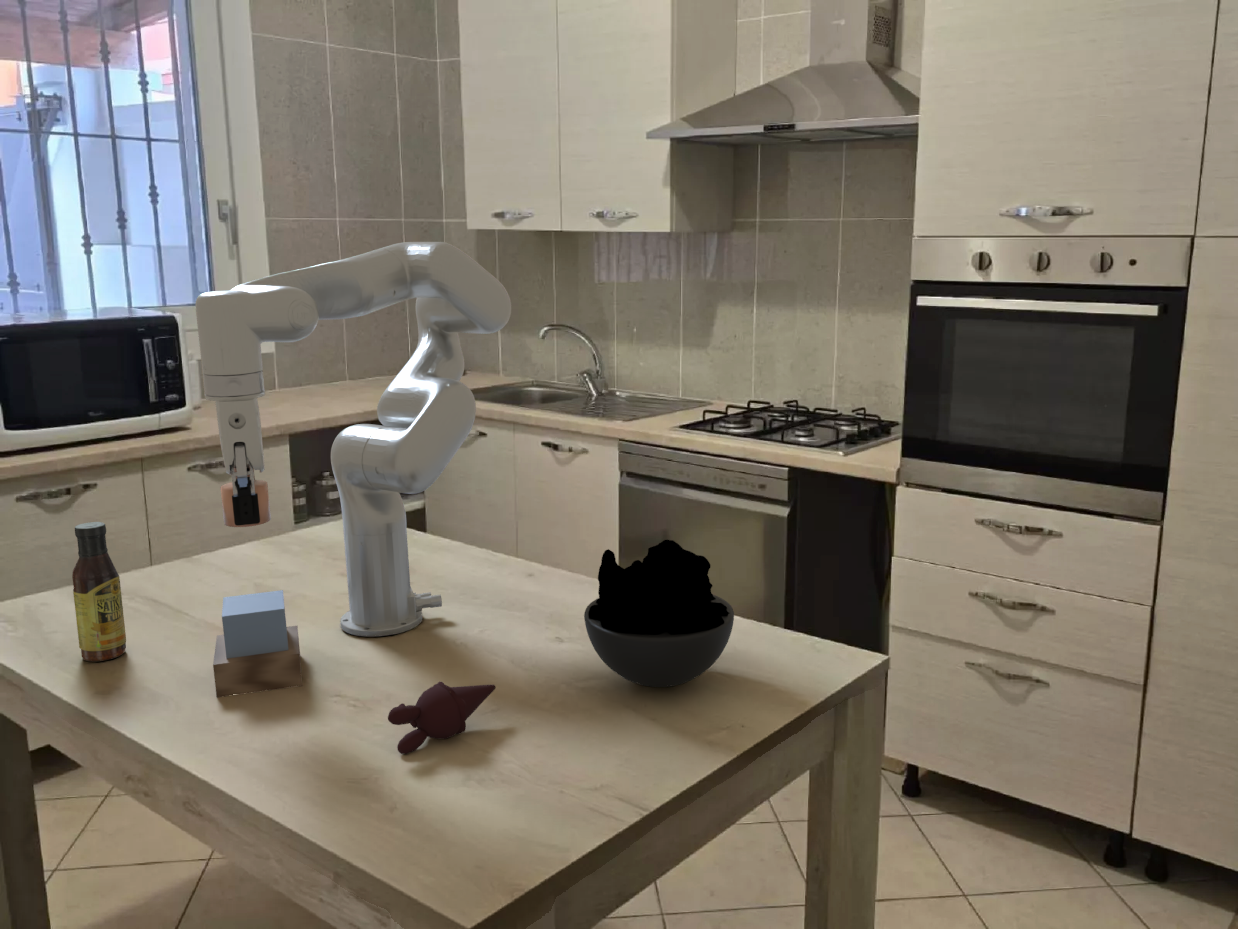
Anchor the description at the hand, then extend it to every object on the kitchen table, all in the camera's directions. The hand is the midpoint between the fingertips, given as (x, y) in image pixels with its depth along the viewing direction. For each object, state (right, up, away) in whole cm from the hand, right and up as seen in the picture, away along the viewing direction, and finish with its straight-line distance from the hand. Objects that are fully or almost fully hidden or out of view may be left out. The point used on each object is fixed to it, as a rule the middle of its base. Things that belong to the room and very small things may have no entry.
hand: (247, 516), depth 146 cm
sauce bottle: (-25, -21, +13) cm, 36 cm away
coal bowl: (+56, -23, +1) cm, 60 cm away
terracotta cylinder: (0, -1, 0) cm, 1 cm away
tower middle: (0, -18, +4) cm, 18 cm away
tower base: (0, -23, +5) cm, 23 cm away
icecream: (+29, -26, -13) cm, 42 cm away
